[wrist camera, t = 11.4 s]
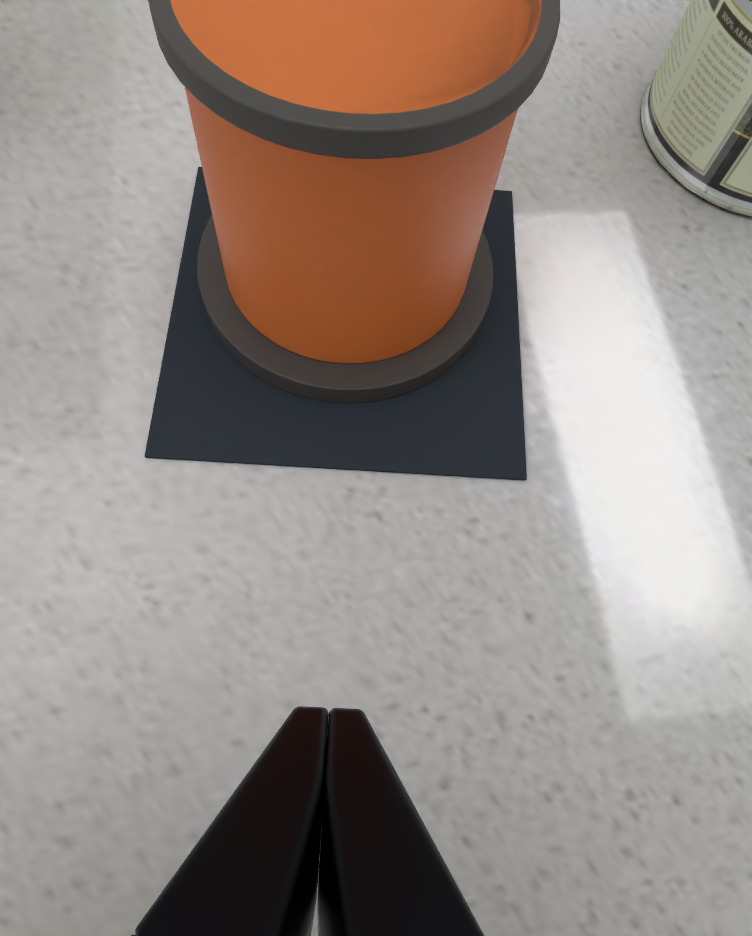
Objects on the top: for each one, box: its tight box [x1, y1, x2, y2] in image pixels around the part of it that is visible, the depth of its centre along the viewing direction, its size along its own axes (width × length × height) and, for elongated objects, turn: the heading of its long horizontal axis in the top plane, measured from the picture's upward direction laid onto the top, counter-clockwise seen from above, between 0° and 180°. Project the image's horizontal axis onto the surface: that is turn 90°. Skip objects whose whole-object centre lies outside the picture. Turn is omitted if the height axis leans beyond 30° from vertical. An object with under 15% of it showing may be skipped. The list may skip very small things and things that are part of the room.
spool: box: [148, 0, 560, 403], centre depth 21 cm, size 11×11×11 cm
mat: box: [145, 167, 527, 480], centre depth 26 cm, size 13×13×1 cm
